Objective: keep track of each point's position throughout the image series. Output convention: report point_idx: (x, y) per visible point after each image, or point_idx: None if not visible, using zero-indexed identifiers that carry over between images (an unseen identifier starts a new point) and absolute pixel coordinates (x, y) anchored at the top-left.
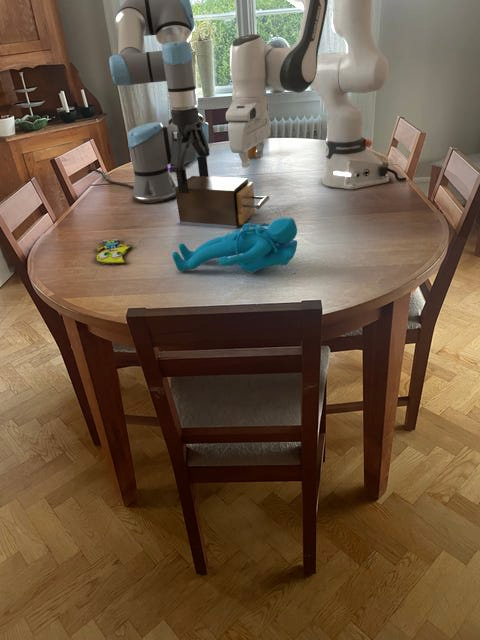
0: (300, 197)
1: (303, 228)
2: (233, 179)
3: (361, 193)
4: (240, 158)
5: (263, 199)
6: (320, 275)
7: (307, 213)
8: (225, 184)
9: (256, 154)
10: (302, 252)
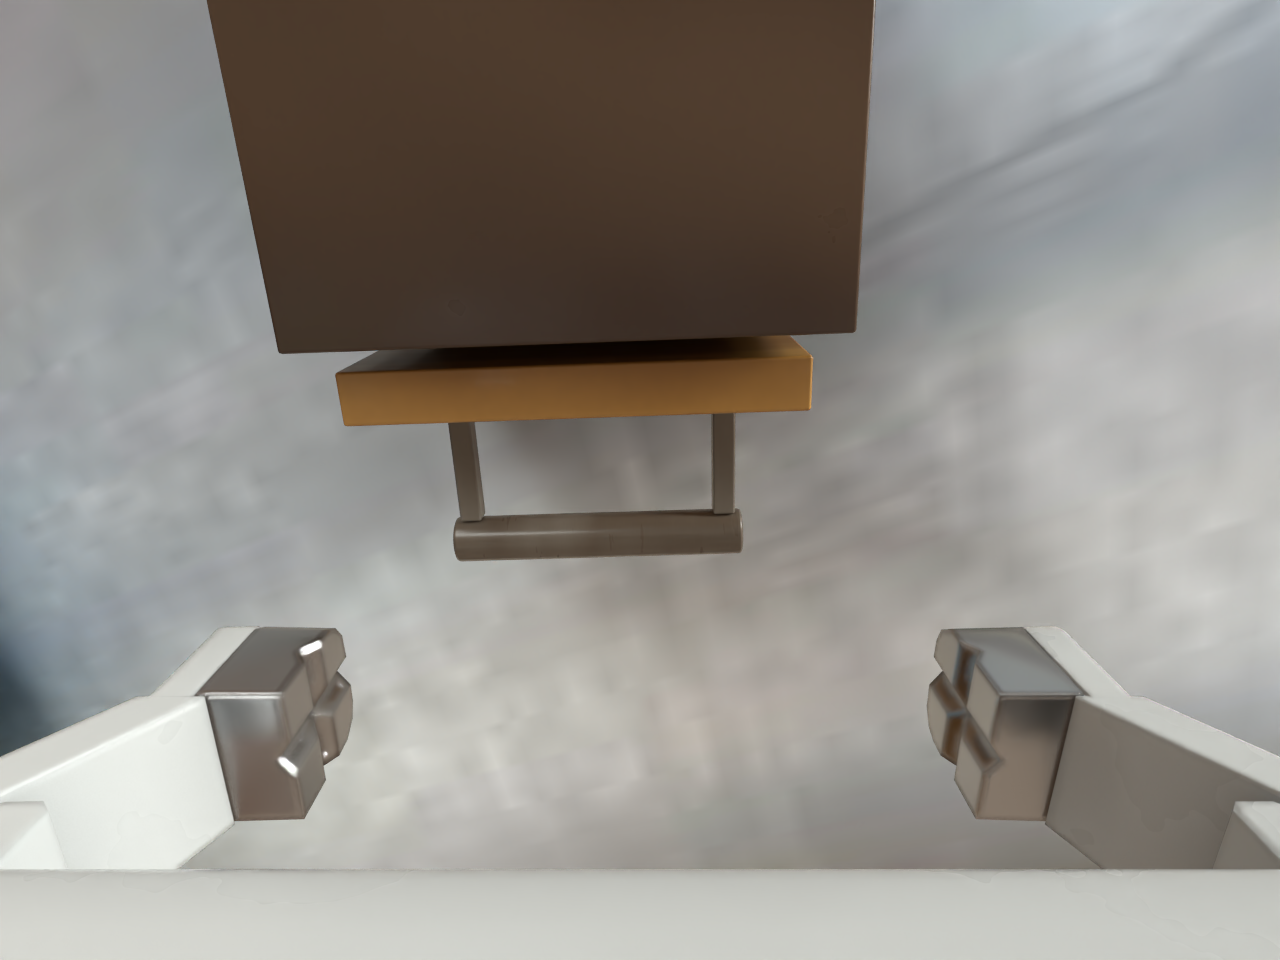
0: (1214, 564)
1: (576, 747)
2: (768, 119)
3: None
4: (71, 725)
5: (620, 545)
6: None
7: (849, 703)
8: (496, 99)
9: (973, 680)
10: (244, 826)
